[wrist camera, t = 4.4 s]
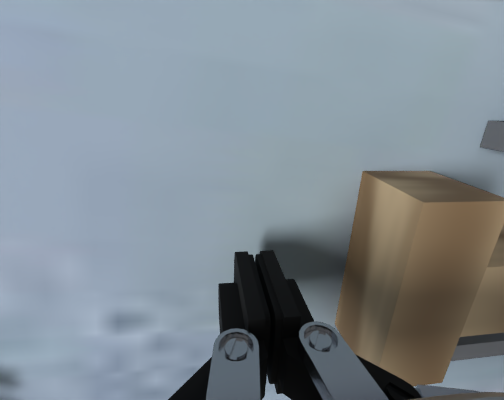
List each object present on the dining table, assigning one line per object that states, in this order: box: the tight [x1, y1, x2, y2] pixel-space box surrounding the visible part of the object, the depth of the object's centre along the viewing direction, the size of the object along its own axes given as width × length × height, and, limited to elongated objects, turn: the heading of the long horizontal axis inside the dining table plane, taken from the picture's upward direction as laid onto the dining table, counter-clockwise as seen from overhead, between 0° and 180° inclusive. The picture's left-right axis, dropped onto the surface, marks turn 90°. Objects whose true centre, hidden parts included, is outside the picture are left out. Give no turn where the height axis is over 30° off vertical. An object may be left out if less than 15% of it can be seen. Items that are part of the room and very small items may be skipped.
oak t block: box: [335, 171, 504, 386], centre depth 14 cm, size 10×9×4 cm
